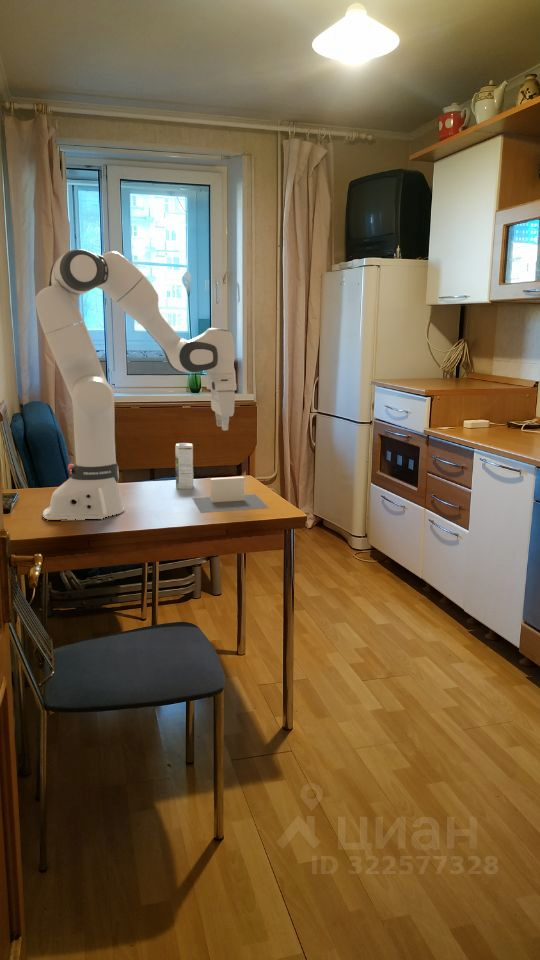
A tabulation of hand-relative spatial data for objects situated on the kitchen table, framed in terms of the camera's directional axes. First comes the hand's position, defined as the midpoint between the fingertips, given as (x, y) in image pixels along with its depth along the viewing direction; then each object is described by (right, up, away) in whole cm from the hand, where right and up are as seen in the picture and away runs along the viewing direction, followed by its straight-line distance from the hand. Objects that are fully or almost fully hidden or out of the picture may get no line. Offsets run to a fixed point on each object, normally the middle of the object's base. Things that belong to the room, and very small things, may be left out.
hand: (222, 428), depth 210 cm
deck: (+2, -22, -2) cm, 22 cm away
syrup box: (-14, -19, +18) cm, 30 cm away
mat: (+2, -23, -5) cm, 24 cm away
